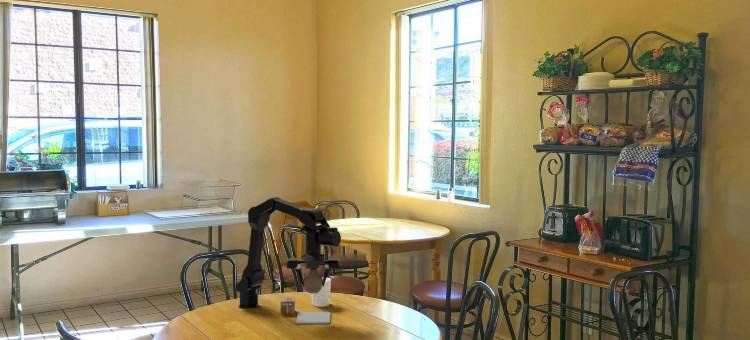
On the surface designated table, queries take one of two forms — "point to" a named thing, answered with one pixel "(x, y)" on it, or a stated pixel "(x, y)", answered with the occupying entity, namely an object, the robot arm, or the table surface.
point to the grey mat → (313, 318)
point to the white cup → (322, 295)
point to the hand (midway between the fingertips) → (313, 286)
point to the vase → (313, 281)
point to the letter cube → (287, 305)
